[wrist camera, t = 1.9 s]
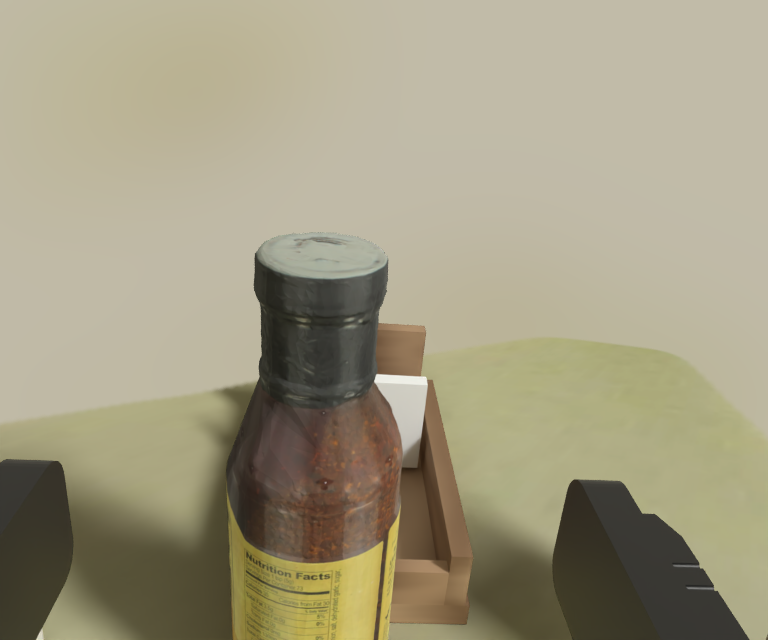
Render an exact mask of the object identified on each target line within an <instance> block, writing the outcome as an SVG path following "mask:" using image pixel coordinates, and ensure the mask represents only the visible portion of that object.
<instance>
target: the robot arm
mask: <svg viewBox="0 0 768 640" xmlns="http://www.w3.org/2000/svg"><path fill="white" fill-rule="evenodd" d="M72 555H73V535H72V528H71V521H70V513H69V506H68V498H67V491H66V483H65V476H64V470H63V467H62V465H61V464H60V463H59V462H58V461H44V460H14V459H6V460H3V461H2V462H1V463H0V640H36V639H37V637H38V635H39V633H40V631H41V629H42V627H43V625H44V623H45V621H46V619H47V617H48V615H49V613H50V611H51V609H52V607H53V605H54V604H55V602H56V600H57V598H58V596H59V594H60V592H61V590H62V588H63V586H64V584H65V582H66V579H67V577H68V574H69V570H70V566H71V561H72ZM552 566H553V581H554V587H555V591H556V594H557V597H558V600H559V603H560V605H561V608H562V611H563V614H564V616H565V619H566V622H567V624H568V627H569V630H570V633H571V635H572V638H573V640H749V638H748V637H747V635H746V634H745V632H744V631H743V629H742V628H741V626H740V625H739V623H738V622H737V620H736V618H735V617H734V615H733V614H732V612H731V611H730V609H729V608H728V606H727V605H726V603H725V602H724V600H723V599H722V597H721V596H720V594H719V592H718V591H714V585H713V583H712V582H711V580H710V579H709V577H708V576H707V574H706V573H705V571H704V570H703V569H700V567H699V562H698V560H697V559H696V557H695V556H694V554H693V553H692V551H691V550H690V548H689V547H688V545H687V544H686V542H685V541H684V539H683V537H682V536H680V535H679V534H678V533H677V532H676V531H674V530H673V529H672V528H671V527H670V526H668V525H667V524H666V523H665V522H664V521H663V520H661V519H660V518H659V517H658V516H657V515H655V514H642V513H641V511H640V509H639V508H638V506H637V504H636V503H635V501H634V499H633V498H632V496H631V494H630V493H629V491H628V489H627V488H626V486H625V485H624V484H623V483H622V482H620V481H605V480H573V481H572V482H571V483H570V485H569V487H568V490H567V494H566V499H565V503H564V508H563V512H562V517H561V521H560V526H559V530H558V535H557V539H556V544H555V548H554V553H553V565H552Z"/></svg>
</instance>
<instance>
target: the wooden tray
mask: <svg viewBox="0 0 768 640" xmlns="http://www.w3.org/2000/svg"><path fill="white" fill-rule="evenodd" d="M425 336H426V331H425V327H424V326H415V325H399V324H382V323H378V330H377V346H376V361H377V367H378V371H377V374H382V375H401V376H419V377H421V369H422V361H423V353H424V345H425ZM427 384H428V388H427V396H426V404H425V411H424V419H423V427H422V435H421V442H420V450H419V458H418V466H417V468H408V467H402V468H401V479H400V486H399V492H400V496H401V508H400V518H399V528H398V538H397V548H396V559H395V569H394V580H393V590H392V600H391V610H390V621H389V622H394V623H435V624H467V618H468V613H469V607H470V605H469V600H468V595H467V590H468V584H469V579H470V573H471V568H472V562H473V554H472V549H471V545H470V541H469V536H468V532H467V528H466V523H465V519H464V514H463V510H462V506H461V501H460V497H459V493H458V488H457V484H456V480H455V475H454V471H453V467H452V462H451V458H450V454H449V449H448V445H447V441H446V436H445V432H444V428H443V423H442V419H441V415H440V410H439V406H438V402H437V397H436V393H435V389H434V384H433V380H427Z"/></svg>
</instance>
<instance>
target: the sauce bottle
mask: <svg viewBox="0 0 768 640" xmlns="http://www.w3.org/2000/svg"><path fill="white" fill-rule="evenodd" d="M387 281H388V258H387V256H386V255H385V253H384V251H383V250H382V249H381V248H380V247H379V246H377V245H376V244H374V243H372V242H370V241H367V240H365V239H361V238H358V237H354V236H350V235H341V234H337V233H305V234H289V235H282V236H278V237H274V238H272V239H270V240H268V241H266V242H264V243H263V244H262V246H261V247H260V248H259V249H258V251H257V252H256V253H255V278H254V291H255V293H256V296H257V298H258V300H259V302H260V306H261V337H262V342H261V343H262V344H261V348H262V356H261V358H260V361H259V375H260V377H259V380H258V382H257V385H256V388H255V390H254V393H253V395H252V398H251V401H250V403H249V406H248V408H247V411H246V414H245V416H244V419H243V422H242V424H241V427H240V429H239V432H238V435H237V437H236V440H235V443H234V445H233V448H232V451H231V453H230V456H229V459H228V463H227V469H226V491H227V513H228V534H229V561H230V578H231V606H232V633H233V640H388V632H389V621H390V610H391V600H392V590H393V580H394V569H395V559H396V548H397V538H398V528H399V518H400V508H401V496H400V492H399V486H400V479H401V468H402V457H403V449H402V441H401V435H400V432H399V429H398V425H397V422H396V420H395V417H394V415H393V413H392V408H391V406H390V404H389V402H388V401H387V400H386V398H385V397H384V396H383V395H382V393H381V391H380V390H379V389H378V386H377V385H376V384H375V383H374V380H375V377H376V374H377V371H378V367H377V361H376V346H377V330H378V316H379V309H380V307H381V305H382V304H383V300H384V296H385V295H386V292H387V290H386V286H387Z"/></svg>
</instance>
